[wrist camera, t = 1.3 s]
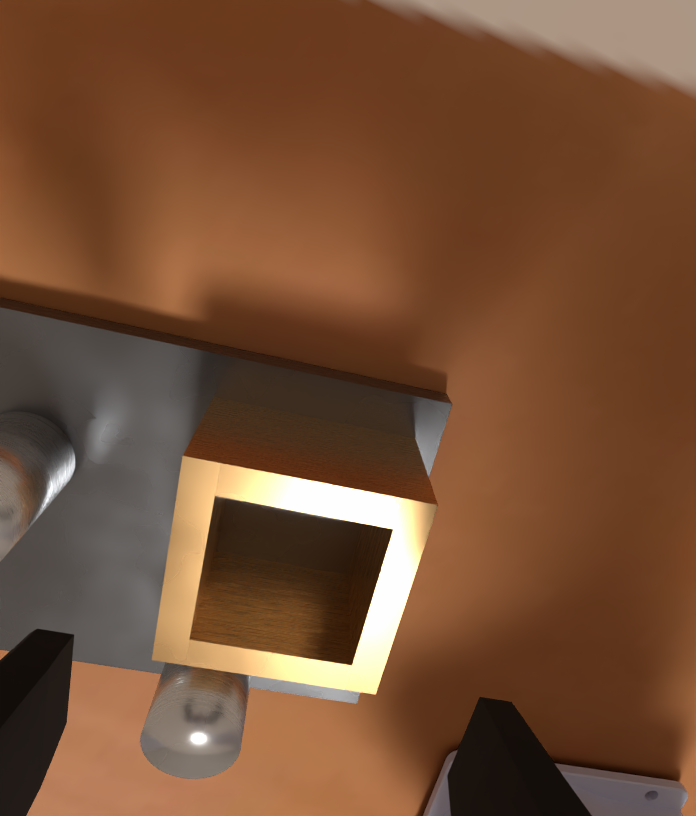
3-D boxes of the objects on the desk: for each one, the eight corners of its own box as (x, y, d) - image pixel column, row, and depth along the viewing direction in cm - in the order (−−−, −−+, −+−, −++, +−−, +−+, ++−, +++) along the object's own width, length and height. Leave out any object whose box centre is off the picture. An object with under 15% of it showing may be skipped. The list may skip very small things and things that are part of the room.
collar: (415, 438, 16) (437, 505, 13) (366, 600, 18) (375, 694, 15) (213, 397, 16) (182, 455, 12) (185, 568, 18) (151, 660, 14)
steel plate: (446, 394, 17) (451, 403, 16) (355, 684, 21) (356, 703, 20) (-156, 264, 15) (-181, 268, 14) (-134, 608, 19) (-153, 626, 18)
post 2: (262, 619, 18) (248, 714, 15) (248, 682, 19) (232, 784, 16) (178, 606, 18) (146, 699, 15) (168, 670, 19) (135, 771, 16)
